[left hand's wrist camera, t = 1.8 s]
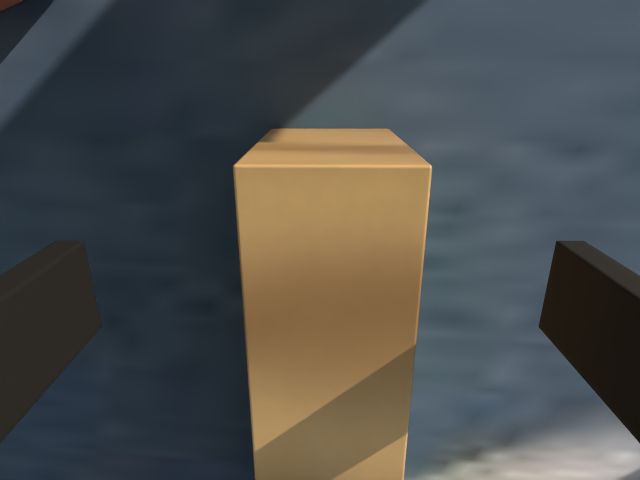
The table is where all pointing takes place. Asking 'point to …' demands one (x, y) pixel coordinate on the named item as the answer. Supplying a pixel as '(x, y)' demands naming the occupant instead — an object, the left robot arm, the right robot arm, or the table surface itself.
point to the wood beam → (330, 299)
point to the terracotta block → (8, 3)
